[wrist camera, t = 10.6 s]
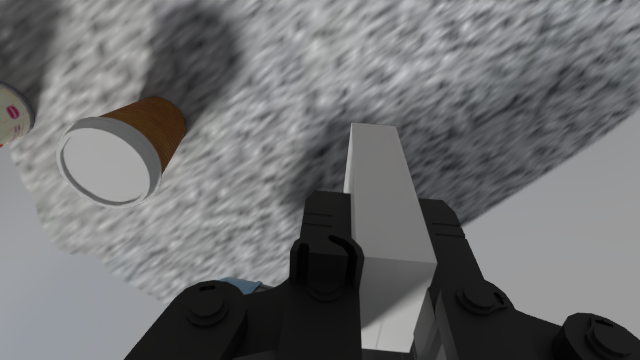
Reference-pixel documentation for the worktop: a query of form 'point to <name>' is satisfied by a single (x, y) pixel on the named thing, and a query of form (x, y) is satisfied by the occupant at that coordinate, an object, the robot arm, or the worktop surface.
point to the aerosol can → (14, 114)
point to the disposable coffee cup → (121, 152)
